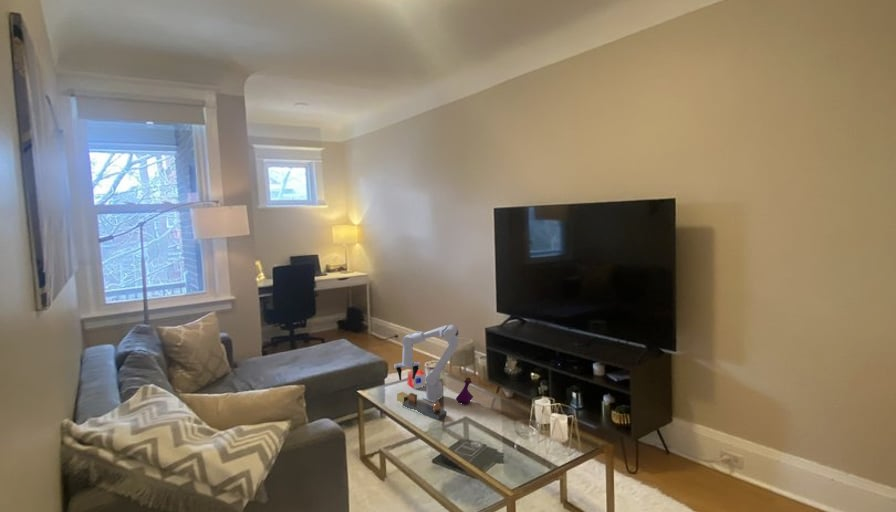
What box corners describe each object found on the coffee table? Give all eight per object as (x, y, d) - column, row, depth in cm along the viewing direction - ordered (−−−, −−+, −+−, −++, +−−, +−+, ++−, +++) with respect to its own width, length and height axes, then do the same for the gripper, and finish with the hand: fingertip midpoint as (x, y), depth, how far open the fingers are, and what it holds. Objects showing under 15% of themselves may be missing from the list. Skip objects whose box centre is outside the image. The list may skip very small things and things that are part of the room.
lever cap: (402, 398, 264) (402, 391, 264) (409, 402, 260) (409, 395, 259) (396, 400, 261) (397, 393, 261) (403, 404, 257) (403, 397, 257)
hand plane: (410, 402, 260) (411, 390, 259) (446, 415, 246) (447, 403, 245) (402, 406, 254) (403, 394, 253) (438, 420, 240) (439, 407, 239)
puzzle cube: (418, 381, 288) (419, 369, 286) (425, 386, 281) (425, 374, 280) (407, 384, 283) (407, 371, 282) (413, 389, 277) (413, 376, 276)
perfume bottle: (473, 401, 263) (474, 371, 261) (467, 407, 257) (469, 375, 254) (460, 398, 266) (462, 368, 264) (455, 404, 260) (456, 372, 257)
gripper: (396, 359, 259) (395, 383, 261) (421, 357, 264) (421, 380, 266) (393, 355, 266) (393, 378, 268) (418, 353, 270) (417, 376, 272)
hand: (406, 379), depth 267 cm, fingers open, 7 cm apart
